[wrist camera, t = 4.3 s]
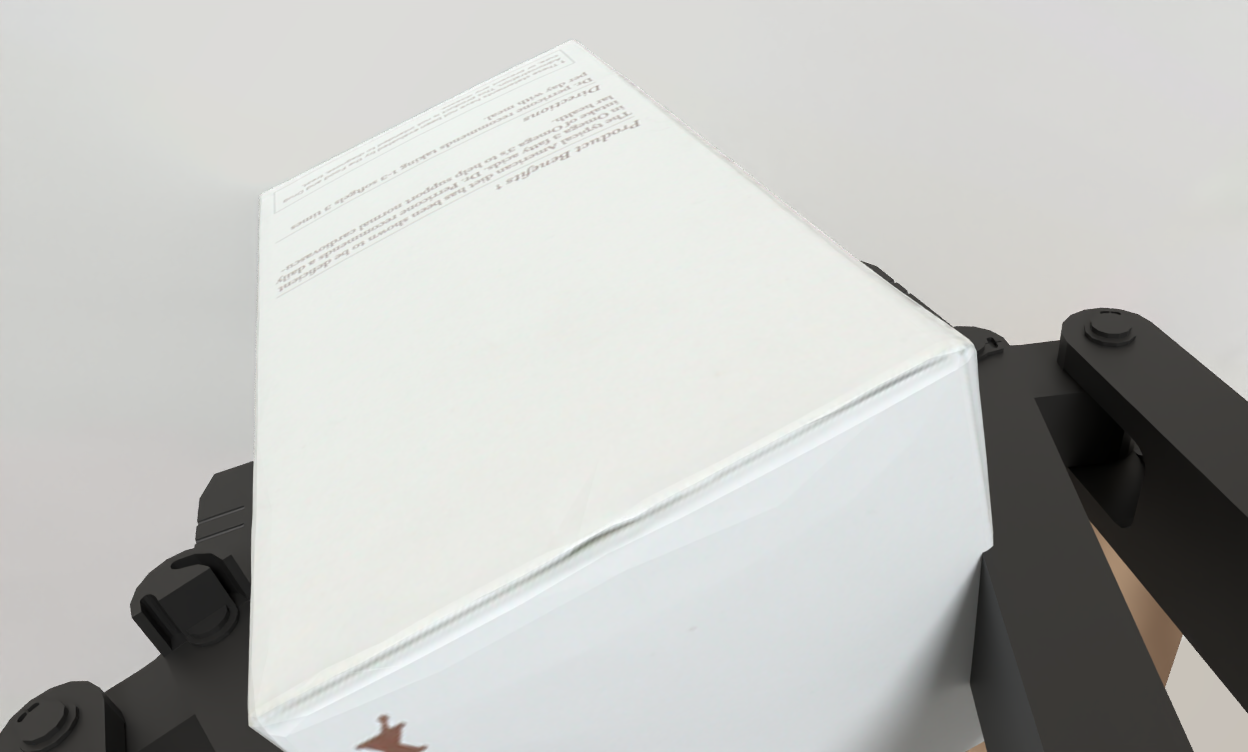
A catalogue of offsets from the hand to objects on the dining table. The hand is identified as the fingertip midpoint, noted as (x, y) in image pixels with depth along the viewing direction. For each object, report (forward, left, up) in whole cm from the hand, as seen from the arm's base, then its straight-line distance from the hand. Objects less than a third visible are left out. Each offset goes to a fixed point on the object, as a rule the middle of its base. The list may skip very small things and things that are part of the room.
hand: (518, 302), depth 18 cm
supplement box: (0, 0, -2) cm, 2 cm away
